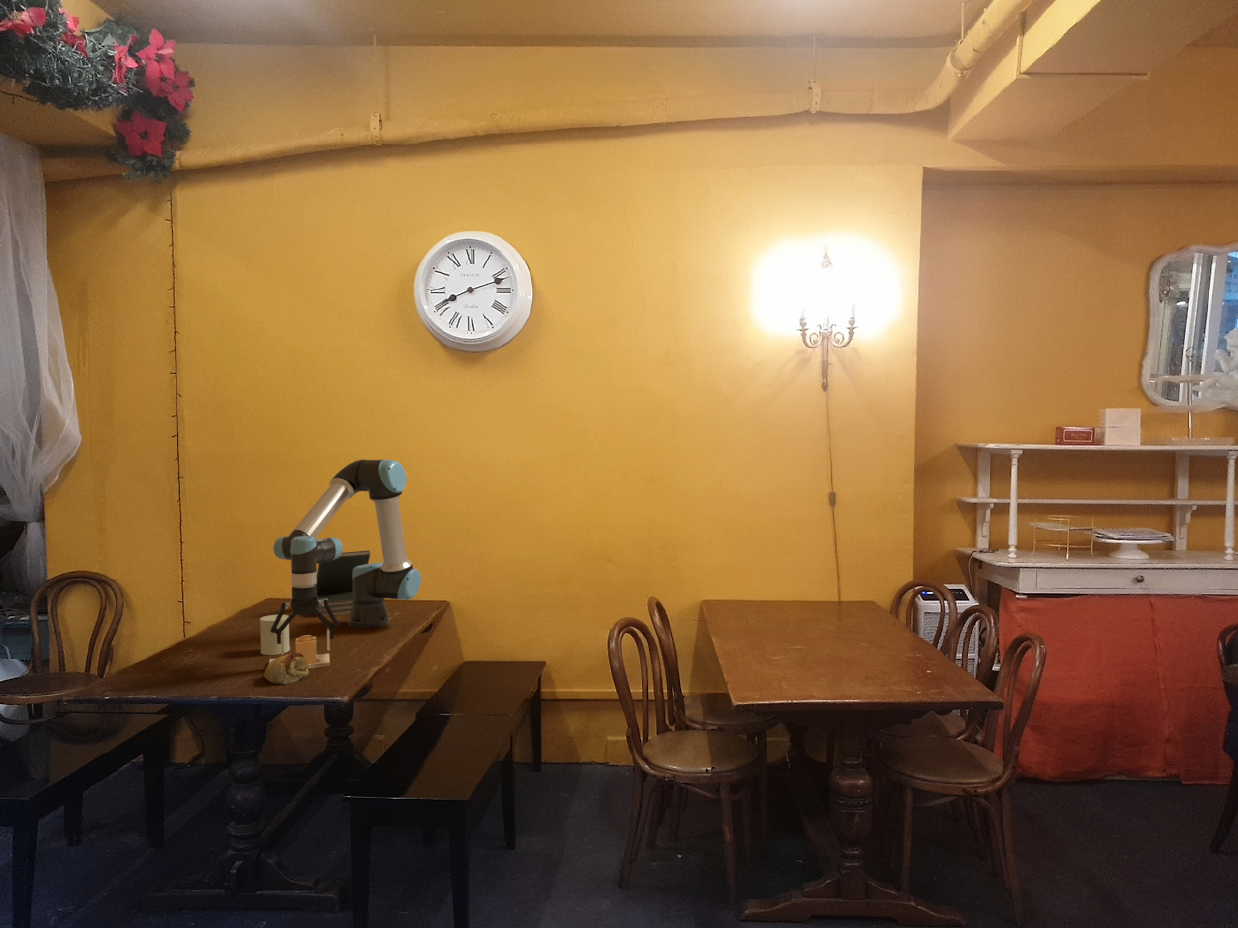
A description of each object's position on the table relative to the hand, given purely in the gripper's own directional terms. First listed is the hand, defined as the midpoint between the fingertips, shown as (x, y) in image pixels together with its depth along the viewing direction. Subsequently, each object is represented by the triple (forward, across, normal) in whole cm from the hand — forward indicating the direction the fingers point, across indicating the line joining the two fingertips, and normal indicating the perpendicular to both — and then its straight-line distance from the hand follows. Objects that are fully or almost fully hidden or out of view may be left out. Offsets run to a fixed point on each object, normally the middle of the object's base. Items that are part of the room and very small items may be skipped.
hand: (305, 651), depth 254 cm
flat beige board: (+4, +2, -2) cm, 5 cm away
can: (+5, +10, -21) cm, 24 cm away
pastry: (+5, +5, +11) cm, 13 cm away
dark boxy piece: (+5, -13, -78) cm, 80 cm away
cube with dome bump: (+3, 0, 0) cm, 3 cm away
